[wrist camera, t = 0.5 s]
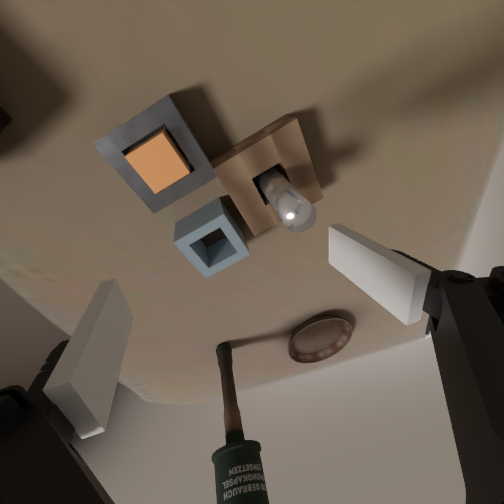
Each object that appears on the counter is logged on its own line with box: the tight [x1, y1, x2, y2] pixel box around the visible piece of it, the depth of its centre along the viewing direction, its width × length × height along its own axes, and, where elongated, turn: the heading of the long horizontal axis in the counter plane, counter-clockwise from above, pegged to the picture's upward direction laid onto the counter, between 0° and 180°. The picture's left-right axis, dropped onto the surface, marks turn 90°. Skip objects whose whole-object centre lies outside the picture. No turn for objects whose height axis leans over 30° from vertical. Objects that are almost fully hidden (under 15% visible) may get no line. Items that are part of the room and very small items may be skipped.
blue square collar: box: [173, 198, 250, 278], centre depth 39 cm, size 8×8×6 cm
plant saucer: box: [288, 316, 353, 363], centre depth 64 cm, size 18×18×3 cm
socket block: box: [211, 115, 324, 236], centre depth 36 cm, size 12×12×4 cm
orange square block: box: [125, 128, 190, 194], centre depth 30 cm, size 5×5×4 cm
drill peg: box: [254, 166, 316, 232], centre depth 32 cm, size 4×4×15 cm
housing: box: [93, 93, 217, 213], centre depth 31 cm, size 10×10×4 cm
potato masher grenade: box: [212, 343, 269, 504], centre depth 48 cm, size 8×9×30 cm
